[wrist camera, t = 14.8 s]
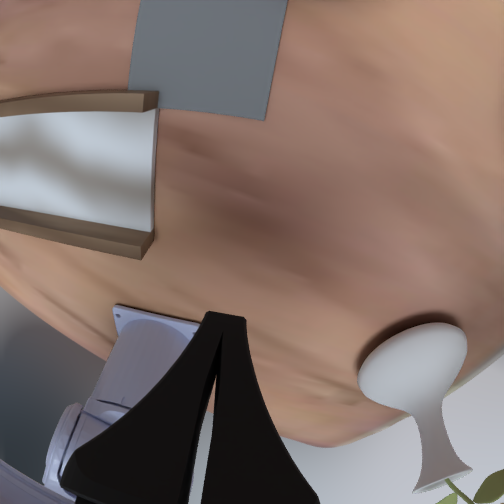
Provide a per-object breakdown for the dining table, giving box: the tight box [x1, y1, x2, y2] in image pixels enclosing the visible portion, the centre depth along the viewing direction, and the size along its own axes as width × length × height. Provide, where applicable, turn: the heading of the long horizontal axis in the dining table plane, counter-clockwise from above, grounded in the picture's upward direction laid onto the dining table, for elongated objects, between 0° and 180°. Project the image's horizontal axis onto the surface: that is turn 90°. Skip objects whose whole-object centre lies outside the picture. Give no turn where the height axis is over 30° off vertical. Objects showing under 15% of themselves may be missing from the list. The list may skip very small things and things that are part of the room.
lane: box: [0, 90, 159, 260], centre depth 16 cm, size 10×26×2 cm, turn 81°
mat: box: [128, 0, 288, 121], centre depth 13 cm, size 8×8×1 cm
